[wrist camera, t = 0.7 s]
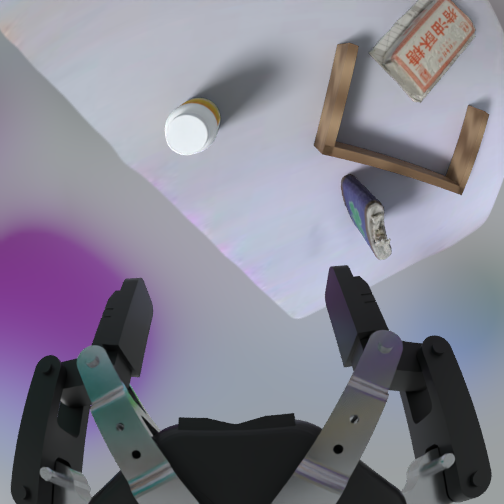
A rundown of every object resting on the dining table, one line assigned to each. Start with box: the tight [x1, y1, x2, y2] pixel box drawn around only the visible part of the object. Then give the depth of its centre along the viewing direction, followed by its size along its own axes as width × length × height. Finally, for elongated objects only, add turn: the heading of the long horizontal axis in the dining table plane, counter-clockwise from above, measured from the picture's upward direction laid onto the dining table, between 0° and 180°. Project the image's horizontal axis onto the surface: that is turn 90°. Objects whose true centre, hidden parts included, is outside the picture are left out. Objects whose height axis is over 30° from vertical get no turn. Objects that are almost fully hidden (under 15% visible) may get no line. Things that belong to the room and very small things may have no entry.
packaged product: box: [369, 0, 476, 103], centre depth 24 cm, size 18×5×10 cm
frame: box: [314, 43, 489, 195], centre depth 31 cm, size 14×24×4 cm, turn 80°
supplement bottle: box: [165, 98, 220, 155], centre depth 28 cm, size 5×5×10 cm
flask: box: [341, 174, 392, 260], centre depth 36 cm, size 9×3×11 cm, turn 26°
